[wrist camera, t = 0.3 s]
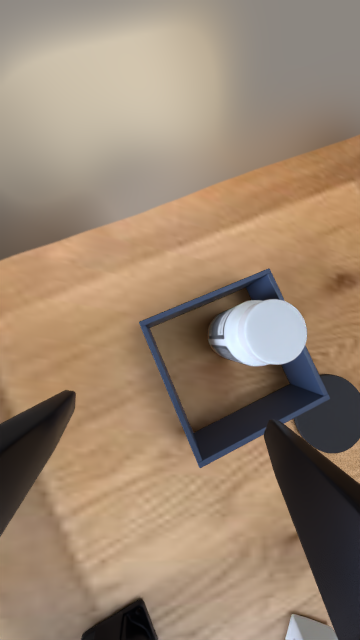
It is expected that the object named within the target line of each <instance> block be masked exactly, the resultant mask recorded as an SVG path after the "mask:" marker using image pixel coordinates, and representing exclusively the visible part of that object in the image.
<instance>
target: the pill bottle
mask: <svg viewBox="0 0 360 640" xmlns="http://www.w3.org/2000/svg"><path fill="white" fill-rule="evenodd" d="M306 339H307V328H306V324H305V321H304V319H303V317H302V315H301V314H300V312H299V311H298V310H297V309H296V308H295V307H294V306H293V305H291V304H289V303H288V302H285V301H283V300H278V299H269V300H264V301H261V300H250V301H246V302H243V303H241V304H239V305H237V306H235V307H233V308H231V309H229V310H226V311H224V312H222V313H220V314H218V315H217V316H216V317H215V318H214V319H213V320H212V321H211V323H210V325H209V328H208V341H209V344H210V346H211V348H212V349H213V350H214V351H215V352H216V353H217V354H218V355H219V356H221V357H224V358H226V359H229V360H232V361H236V362H239V363H242V364H246V365H249V366H264V365H268V364H276V365H278V364H285V363H288V362H290V361H292V360H294V359H295V358H296V357H297V356H298V355H299V354H300V353H301V352H302V350H303V348H304V346H305V343H306Z"/></svg>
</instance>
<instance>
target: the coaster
mask: <svg viewBox="0 0 360 640" xmlns="http://www.w3.org/2000/svg"><path fill="white" fill-rule="evenodd" d="M319 376H320V378H321V380H322V382H323V384H324V386H325V389H326V391H327V393H328V395H329V397H330V399H329V400H327V401H325V402H323V403H321V404H319V405H318V406H316V407H314V408H312V409H310V410H308V411H306V412H304V413H303V414H301V415H299V416H297V417H295V418H294V420H295V424H296V427H297V429H298V431H299V433H300V434H301V436H302V437H303V438H304V439H305V441H307V442H308V443H309V444H310V445H312V446H313V447H314V448H316V449H318V450H320V451H323V452H326V453H340V452H343V451H346V450H348V449H349V448H351V447H352V446H353V445H354V444H355V443H356V442H357V441H358V440H359V438H360V393H359V392H358V390H357V389H356V388H355V387H354V386H353V385H352V384H351V383H350V382H349V381H347V380H346V379H344V378H342V377H339V376H335V375H330V374H322V375H319Z"/></svg>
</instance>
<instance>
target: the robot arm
mask: <svg viewBox="0 0 360 640" xmlns="http://www.w3.org/2000/svg"><path fill="white" fill-rule="evenodd" d="M75 398H76V393H75V392H74V391H69V390H65V391H63V392H61V393H59V394H57V395H55V396H53V397H51V398H49V399H47V400H45V401H43V402H41V403H39V404H38V405H36V406H34V407H32V408H30V409H28V410H26V411H24V412H22V413H20V414H18V415H16V416H14V417H12V418H11V419H9V420H7V421H5V422H3V423H1V424H0V536H1V535H2V533H3V532H4V530H5V528H6V527H7V525H8V524H9V522H10V520H11V519H12V517H13V516H14V514H15V512H16V511H17V509H18V508H19V506H20V504H21V503H22V501H23V500H24V498H25V496H26V495H27V493H28V492H29V490H30V488H31V487H32V485H33V484H34V482H35V480H36V479H37V477H38V476H39V474H40V472H41V471H42V469H43V468H44V466H45V464H46V463H47V461H48V460H49V458H50V456H51V455H52V453H53V451H54V450H55V448H56V446H57V444H58V442H59V440H60V438H61V436H62V434H63V432H64V430H65V428H66V426H67V424H68V422H69V420H70V418H71V416H72V414H73V412H74V409H75ZM264 439H265V442H266V446H267V449H268V453H269V456H270V460H271V463H272V467H273V470H274V473H275V476H276V479H277V481H278V484H279V487H280V489H281V492H282V495H283V497H284V500H285V502H286V505H287V508H288V510H289V513H290V515H291V518H292V521H293V523H294V526H295V528H296V531H297V534H298V536H299V539H300V542H301V544H302V547H303V549H304V552H305V555H306V557H307V560H308V562H309V565H310V568H311V570H312V573H313V576H314V578H315V581H316V583H317V586H318V589H319V591H320V594H321V596H322V599H323V602H324V604H325V607H326V609H327V612H328V615H329V617H330V620H331V623H332V625H333V628H334V630H335V633H336V636H337V638H338V640H360V484H359V483H358V482H356V481H355V480H354V479H353V478H351V477H350V476H349V475H348V474H346V473H345V472H344V471H343V470H341V469H340V468H339V467H337V466H336V465H335V464H334V463H332V462H331V461H330V460H329V459H327V458H326V457H325V456H324V455H322V454H321V453H320V452H318V451H317V450H316V449H315V448H313V447H312V446H311V445H310V444H308V443H307V442H306V441H305V440H303V439H302V438H301V437H300V436H298V435H297V434H296V433H294V432H293V431H292V430H291V429H289V428H288V427H287V426H286V425H284V424H283V423H282V422H281V421H279V420H273V419H270V420H269V422H268V424H267V426H266V429H265V431H264ZM81 640H158V638H157V635H156V632H155V630H154V627H153V625H152V622H151V619H150V617H149V614H148V612H147V609H146V607H145V604H144V602H143V601H142V600H137V601H136V602H134V603H132V604H131V605H129V606H128V607H126V608H124V609H123V610H121V611H119V612H118V613H116V614H114V615H113V616H111V617H109V618H108V619H106V620H104V621H103V622H101V623H99V624H98V625H96V626H94V627H93V628H91V629H89V630H88V631H86V632H85V633H83V635H82V638H81Z"/></svg>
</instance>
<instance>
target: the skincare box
mask: <svg viewBox="0 0 360 640" xmlns="http://www.w3.org/2000/svg"><path fill="white" fill-rule="evenodd" d="M285 640H338V638H337V636H336V634H335V632H334V630H333V628H332V627H330V626H327V625H325V624H322V623H320V622H317V621H314V620H312V619H309V618H306V617H303V616H299V615H296V614H292V616H291V619H290V623H289V627H288V631H287V635H286V639H285Z"/></svg>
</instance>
